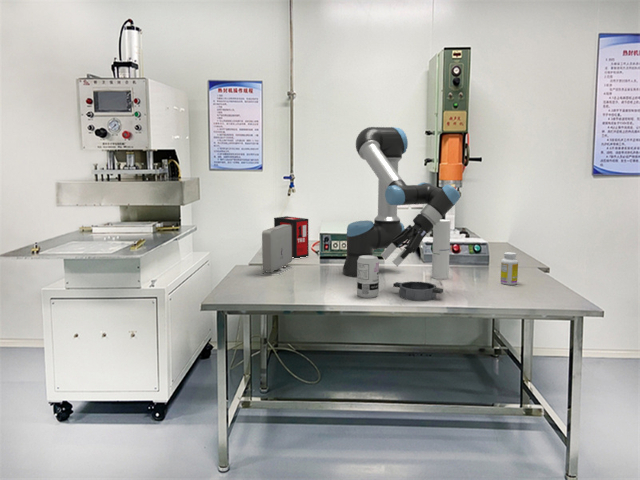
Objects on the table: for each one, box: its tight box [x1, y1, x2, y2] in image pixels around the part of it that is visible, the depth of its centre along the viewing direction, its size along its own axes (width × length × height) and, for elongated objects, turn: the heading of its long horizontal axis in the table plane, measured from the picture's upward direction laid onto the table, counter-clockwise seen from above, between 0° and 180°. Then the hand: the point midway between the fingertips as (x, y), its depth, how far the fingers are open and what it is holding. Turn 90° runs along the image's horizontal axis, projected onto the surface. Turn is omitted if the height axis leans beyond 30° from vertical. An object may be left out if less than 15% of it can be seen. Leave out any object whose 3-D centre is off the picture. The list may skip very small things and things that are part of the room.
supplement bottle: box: [500, 251, 519, 286], centre depth 228 cm, size 7×7×13 cm
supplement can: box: [356, 254, 380, 299], centre depth 209 cm, size 8×8×15 cm
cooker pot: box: [393, 281, 444, 302], centre depth 209 cm, size 19×14×4 cm
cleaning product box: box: [273, 215, 310, 259], centre depth 289 cm, size 16×9×20 cm, turn 46°
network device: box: [261, 224, 293, 275], centre depth 253 cm, size 26×9×20 cm, turn 161°
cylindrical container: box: [431, 218, 452, 280], centre depth 239 cm, size 7×7×25 cm
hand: (388, 260), depth 208 cm, fingers open, 13 cm apart
